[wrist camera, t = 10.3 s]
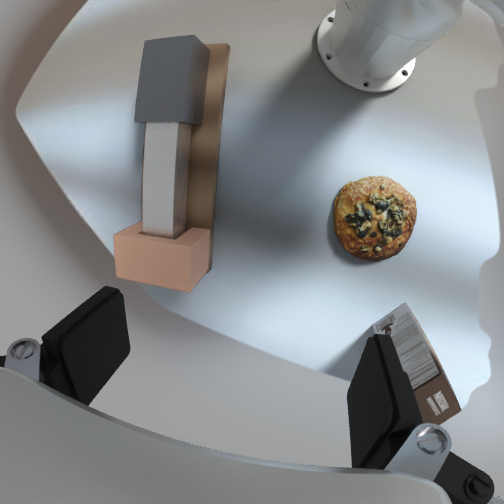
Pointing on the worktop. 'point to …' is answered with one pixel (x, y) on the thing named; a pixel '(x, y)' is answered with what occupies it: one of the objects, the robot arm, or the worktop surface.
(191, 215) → the base board
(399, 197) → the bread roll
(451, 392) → the coffee box
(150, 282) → the socket block
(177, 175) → the light grey bar
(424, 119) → the worktop surface
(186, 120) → the sleeve
